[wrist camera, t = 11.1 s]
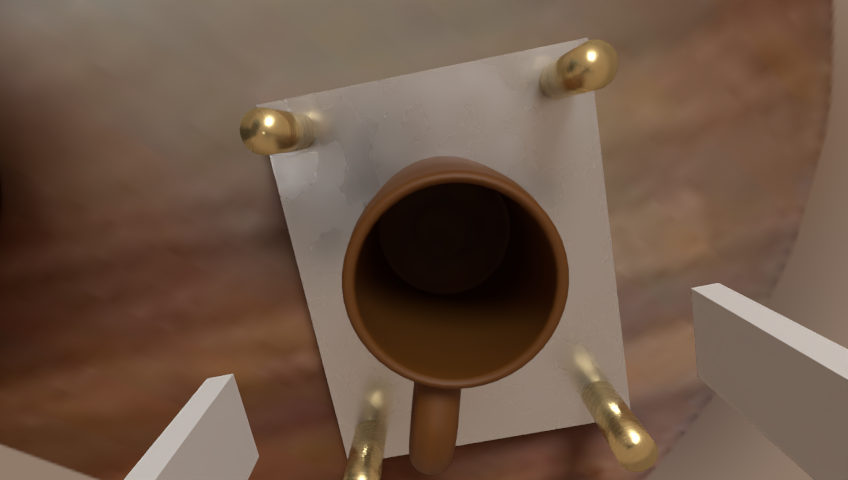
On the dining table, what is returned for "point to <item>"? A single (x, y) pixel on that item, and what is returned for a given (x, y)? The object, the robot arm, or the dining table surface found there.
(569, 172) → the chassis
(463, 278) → the mug
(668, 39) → the dining table surface
